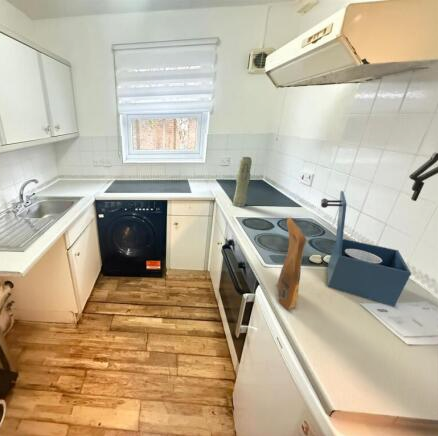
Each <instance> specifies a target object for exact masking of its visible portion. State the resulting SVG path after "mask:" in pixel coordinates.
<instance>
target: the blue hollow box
mask: <svg viewBox="0 0 438 436" xmlns="http://www.w3.org/2000/svg"><path fill="white" fill-rule="evenodd" d="M346 249H357V250H361V251H365V252H368V253H371V254H373V255H376V256H378V257H379V258H381V260H382V262H381V263H379V264H374V263H370V262H366V261H361V260H357V259H353V258H349V257H345V250H346ZM326 267H327V287H328V288H331V289H334V290H338V291H341V292H344V293H347V294H350V295H354V296H357V297H361V298H363V299H368V300H370V301H373V302H377V303H379V304H380V303H381V304H384V305H387V306H389V307H392V308H394V307H395V306H396V304H397V302H398V300H399V299H400V296H401V294H402V292H403V291H404V288H405V287H406V285H407V283H408V281H409V279H410V277H411V275H412V272H411V270H410V269H409V266H408V265H407V263H406V262H405V259H404V258H403V257H402V254H401V252H400V251H399V249H394V248H390V247H385V246H380V245H375V244H370V243H365V242H360V241H356V240H351V239H347V238H343V242H342V251H341V255H338V248H337V238H336V240H335V242H334V245H333V248H332V251H331V254H330V257H329V260H328V263H327V266H326Z"/></svg>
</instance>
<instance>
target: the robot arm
mask: <svg viewBox="0 0 438 436" xmlns="http://www.w3.org/2000/svg"><path fill="white" fill-rule="evenodd" d="M437 162H438V152H434V153H432V155H431V157H430V158H429V159H428V160H427V161H426V162H425V163H423V164H422V165H421V166H419V167H418V168H417V169H416V170H415V171H413V172H412V173H411V174H410V175H409V176H408V178H409V179H410V180H412V181H414V182H413V184H412V186H411V190H412V191H413V193H412V195H411V198H410V199H411V201H413V202H417V200H418V198H419V196H420V194H421V192H422V189H423V187H424V185H425V182H424V181H426V180H428V179H429V178H431V177H433V176H436V175H438V166H436V167H434V168H431V167H432V166H433V165H434V164H436V163H437ZM430 168H431V169H430ZM429 169H430V170H429ZM427 170H429V171H427ZM426 171H427V172H426Z"/></svg>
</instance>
